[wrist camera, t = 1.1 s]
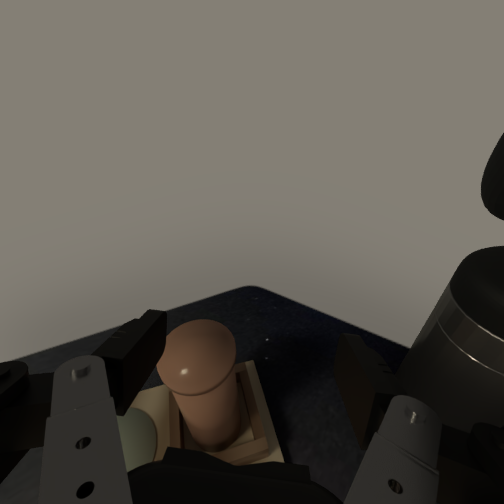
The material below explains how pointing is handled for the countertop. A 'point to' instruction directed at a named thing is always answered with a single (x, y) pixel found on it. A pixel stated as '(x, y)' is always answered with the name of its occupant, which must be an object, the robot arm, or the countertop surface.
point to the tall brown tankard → (204, 381)
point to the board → (178, 434)
